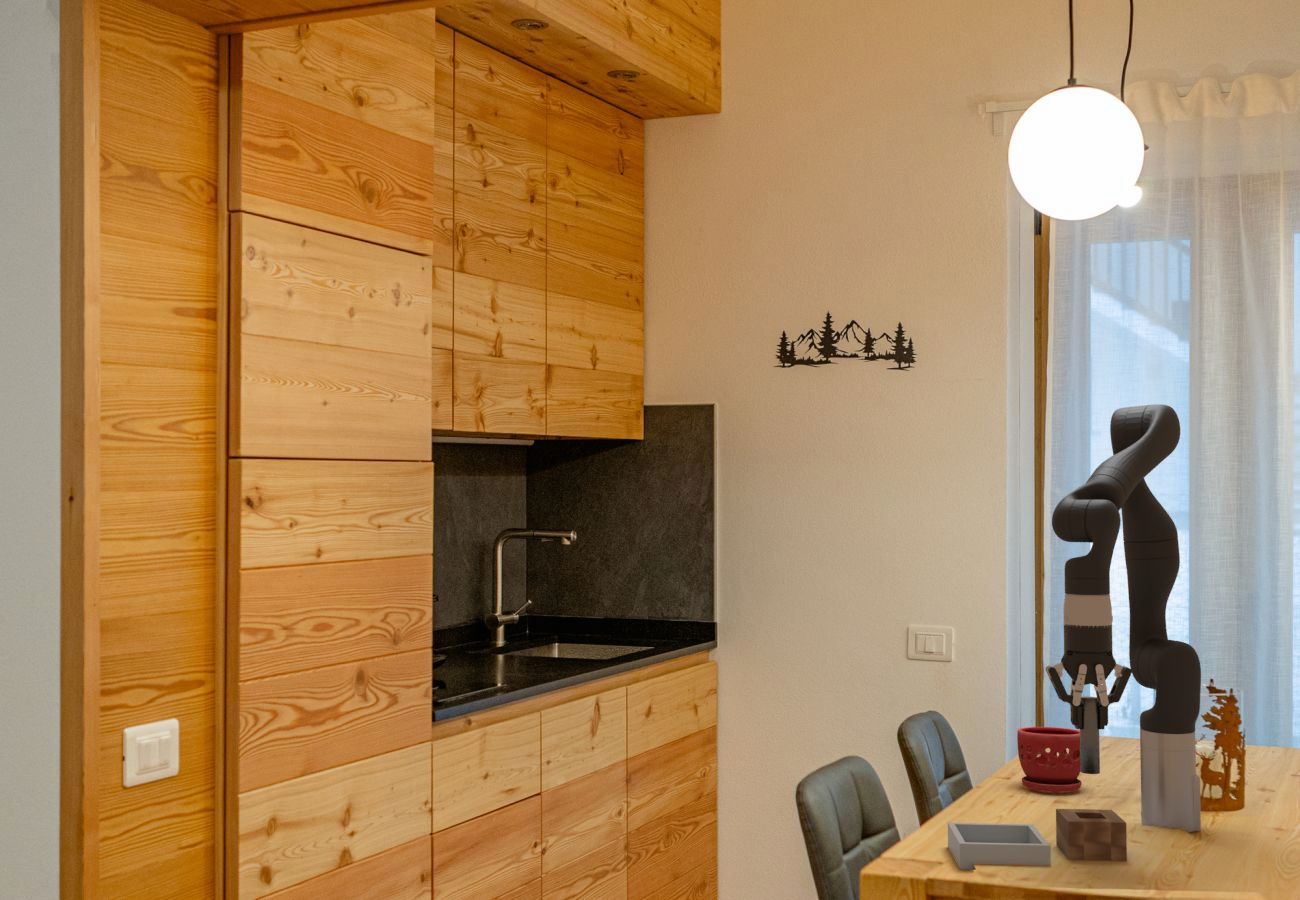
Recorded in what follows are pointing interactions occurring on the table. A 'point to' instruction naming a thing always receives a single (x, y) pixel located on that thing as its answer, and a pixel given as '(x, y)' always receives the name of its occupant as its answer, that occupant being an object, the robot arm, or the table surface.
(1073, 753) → the plant pot
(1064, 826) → the pin block
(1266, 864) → the table surface
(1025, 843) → the tray
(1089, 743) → the pin
